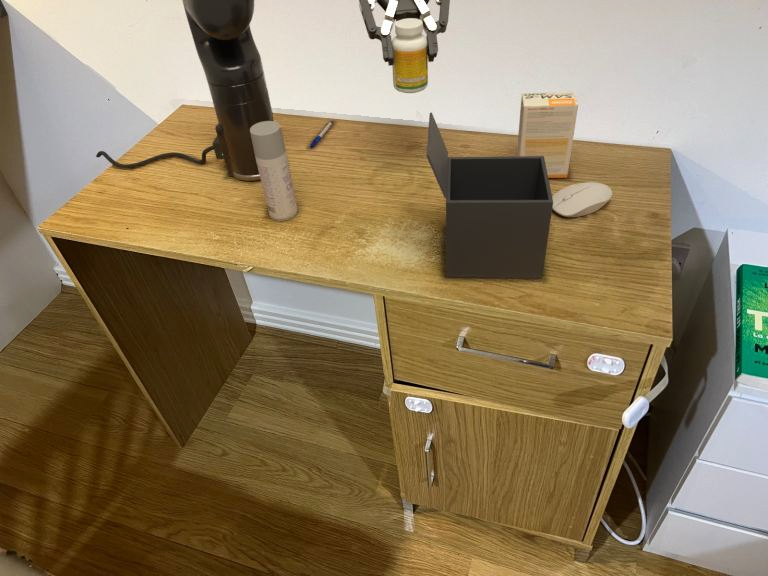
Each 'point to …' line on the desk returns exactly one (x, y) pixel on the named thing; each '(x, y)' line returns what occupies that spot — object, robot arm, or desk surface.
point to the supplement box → (548, 129)
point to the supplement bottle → (410, 56)
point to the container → (274, 170)
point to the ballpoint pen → (320, 135)
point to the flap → (437, 155)
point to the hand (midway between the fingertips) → (411, 61)
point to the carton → (497, 217)
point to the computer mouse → (581, 199)
